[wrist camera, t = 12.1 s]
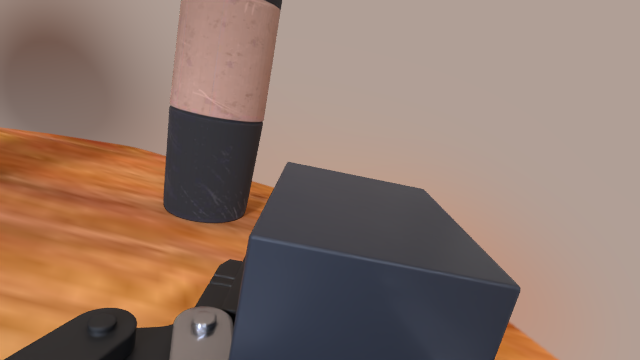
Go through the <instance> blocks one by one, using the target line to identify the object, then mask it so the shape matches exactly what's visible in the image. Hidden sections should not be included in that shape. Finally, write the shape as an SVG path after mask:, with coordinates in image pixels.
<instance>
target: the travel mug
mask: <svg viewBox="0 0 640 360" xmlns="http://www.w3.org/2000/svg"><path fill="white" fill-rule="evenodd" d="M281 4H282V0H181V6H180V15H179V25H178V34H177V43H176V52H175V61H174V70H173V80H172V89H171V97H170V105H171V106H170V108H169V123H168V138H167V154H166V168H165V184H164V207H165V209H166V210H167V211H168V212H170V213H171V214H173V215H175V216H178V217H180V218H184V219H187V220H192V221H198V222H208V223H219V222H228V221H233V220H236V219H238V218H240V217H242V216H243V215H244V213H245V210H246V206H247V202H248V197H249V192H250V187H251V182H252V176H253V172H254V166H255V161H256V156H257V151H258V146H259V141H260V136H261V131H262V126H263V122H262V121H263V120H264V114H265V108H266V101H267V95H268V88H269V82H270V75H271V69H272V62H273V56H274V49H275V42H276V36H277V30H278V23H279V17H280V10H281Z"/></svg>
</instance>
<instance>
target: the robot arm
mask: <svg viewBox="0 0 640 360" xmlns="http://www.w3.org/2000/svg"><path fill="white" fill-rule="evenodd" d="M245 258H246V256H245ZM245 258H244V260H243V262H242V261H237V260H231V259H230V260H228V261H226V262H225V263H223V264H221V265H220V266H219V267H218V269H217V271H216V272H215V274H214V276H213V277H212V279H211V281H210V284H208V286H207V288H206V289H205V291H204V293H203V294H202V296H201V298H200V299H199V301H198V303H197V304H196V306H195V307H194V308H190V309H188V310H185V311H184V312H182V313H181V314H179V315H178V316H177V317H176V319H175V321H174V324H172V325H169V326H163V327H150V328H137V321H136V318H135V317H134V315H132V314H131V313H130V312H128V311H126V310H123V309H118V308H101V309H96V310H92V311H88V312H86V313H83V314H81V315H79V316H77V317H76V318H74V319H72V320H71V321H69V322H67V323H65V324H64V325H62V326H60V327H59V328H57V329H55V330H54V331H52V332H50V333H48V334H47V335H45V336H43V337H42V338H40V339H38V340H37V341H35V342H33V343H31V344H30V345H28V346H26V347H25V348H23V349H21V350H20V351H18V352H16V353H14V354H13V355H11V356H9V357H8V358H6V359H4V360H228V359H229V353H230V347H231V341H232V335H233V329H234V323H235V317H236V312H237V306H238V300H239V294H240V288H241V282H242V276H243V270H244V264H245Z"/></svg>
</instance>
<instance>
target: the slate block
mask: <svg viewBox="0 0 640 360" xmlns="http://www.w3.org/2000/svg"><path fill="white" fill-rule="evenodd" d="M519 293H520V287H519V286H518V285H517V284H516V282H514V280H513V279H512V278H511V277H510V276H509V275H508V274H507V273H506V272H505V271H504V270H503V269H502V268H501V267H500V266H498V264H497V263H496V262H495V261H494V260H493V259H492V258H491V257H490V256H489V255H488V254H487V253H486V252H485V251H484V250H483V249H482V248H481V247H480V246H479V245H478V244H477V243H476V242H475V241H474V240H473V239H472V238H471V237H470V236H469V235H468V234H467V233H466V232H465V231H464V230H463V229H462V228H461V227H460V226H459V225H458V224H457V223H456V222H455V221H454V220H453V219H452V218H451V217H450V216H449V215H448V214H447V213H446V212H445V211H444V210H443V209H442V208H441V206H439V204H438V203H437V202H436V201H435V200H434V199H433V198H432V197H431V196H430V195H429V194H428V193H427V192H426V191H424V190H423V189H420V188H415V187H410V186H405V185H400V184H395V183H390V182H385V181H380V180H375V179H370V178H365V177H360V176H356V175H351V174H345V173H341V172H336V171H331V170H326V169H321V168H316V167H311V166H306V165H301V164H296V163H291V162H288V163H287V164H286V166H285V168H284V170H283V172H282V174H281V176H280V178H279V180H278V182H277V184H276V186H275V187H274V189H273V191H272V193H271V195H270V197H269V199H268V201H267V203H266V205H265V207H264V209H263V211H262V213H261V215H260V217H259V219H258V221H257V222H256V224H255V226H254V228H253V230H252V232H251V234H250V236H249V240H248V246H247V252H246V258H245V264H244V270H243V276H242V282H241V288H240V294H239V300H238V306H237V312H236V317H235V323H234V329H233V335H232V341H231V347H230V353H229V359H228V360H494V359H495V356H496V354H497V351H498V348H499V346H500V343H501V340H502V338H503V335H504V333H505V330H506V327H507V325H508V322H509V319H510V317H511V314H512V311H513V309H514V306H515V304H516V301H517V298H518V296H519Z"/></svg>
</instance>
